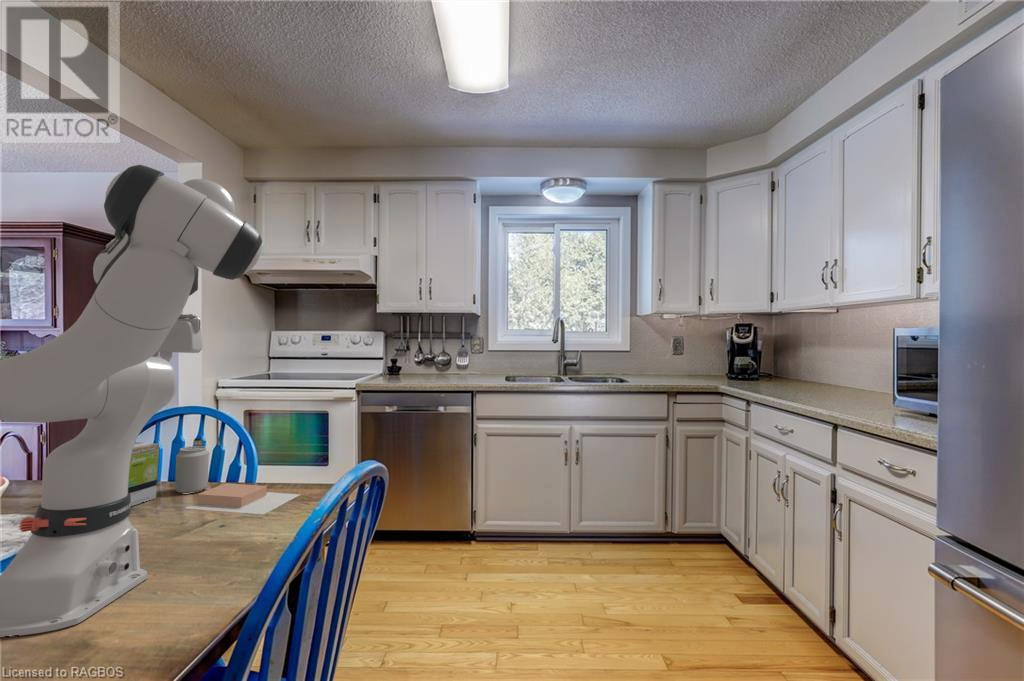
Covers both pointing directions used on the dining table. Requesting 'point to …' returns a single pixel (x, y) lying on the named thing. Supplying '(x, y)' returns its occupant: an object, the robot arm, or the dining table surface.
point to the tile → (232, 495)
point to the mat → (252, 504)
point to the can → (191, 469)
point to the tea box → (143, 472)
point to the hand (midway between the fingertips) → (158, 371)
